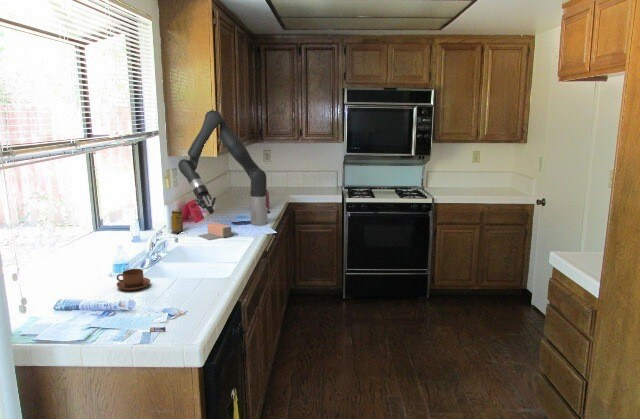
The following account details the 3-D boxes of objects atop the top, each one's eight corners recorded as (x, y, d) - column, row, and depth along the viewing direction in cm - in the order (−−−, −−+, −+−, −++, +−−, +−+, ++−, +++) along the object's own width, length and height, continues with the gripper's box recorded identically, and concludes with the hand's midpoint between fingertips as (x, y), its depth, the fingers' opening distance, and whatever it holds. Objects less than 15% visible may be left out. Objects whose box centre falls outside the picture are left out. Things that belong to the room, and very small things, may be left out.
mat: (225, 230, 273) (225, 230, 273) (237, 234, 266) (237, 233, 266) (198, 236, 261) (198, 235, 261) (209, 240, 253) (209, 239, 253)
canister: (247, 209, 334) (247, 184, 331) (255, 206, 347) (255, 182, 343) (265, 211, 331) (264, 185, 327) (272, 207, 343) (272, 182, 339)
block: (215, 222, 270) (231, 226, 260) (215, 231, 271) (231, 235, 261) (207, 223, 266) (223, 228, 256) (207, 232, 267) (223, 237, 257)
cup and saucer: (116, 294, 177) (115, 278, 176) (117, 283, 188) (115, 268, 187) (151, 290, 182) (150, 274, 180) (149, 280, 193) (148, 265, 191)
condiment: (179, 230, 274) (178, 209, 272) (188, 232, 269) (187, 211, 266) (168, 232, 269) (167, 211, 267) (176, 234, 264) (175, 213, 261)
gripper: (191, 185, 265) (204, 210, 259) (211, 183, 274) (224, 207, 269) (186, 193, 270) (199, 218, 264) (206, 191, 279) (219, 215, 273)
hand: (212, 213), depth 266 cm, fingers closed
